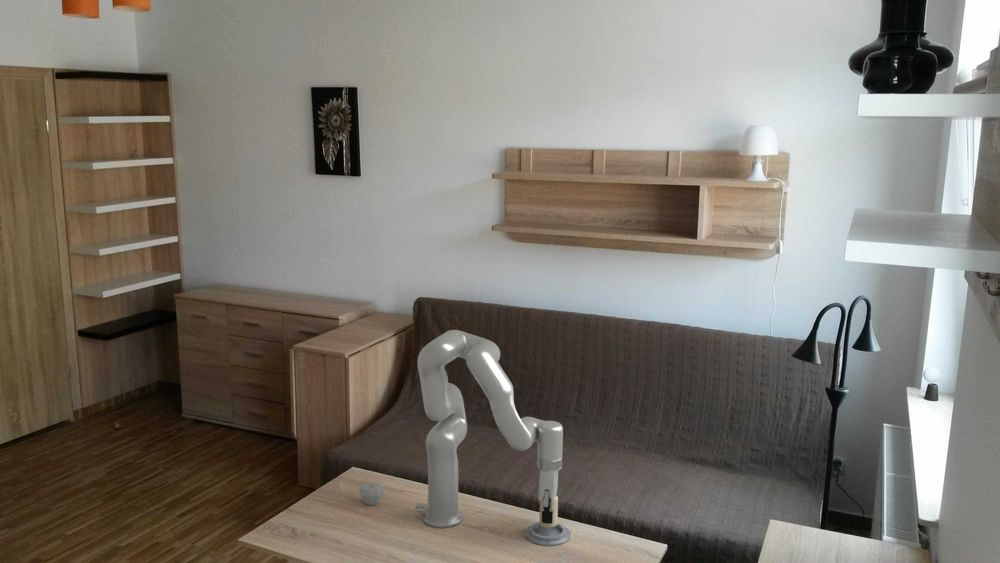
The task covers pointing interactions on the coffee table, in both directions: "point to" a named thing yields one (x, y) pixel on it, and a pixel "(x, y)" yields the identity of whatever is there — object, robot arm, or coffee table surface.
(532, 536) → the candle dish
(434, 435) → the robot arm
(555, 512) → the candle
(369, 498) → the apple
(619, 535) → the coffee table surface
